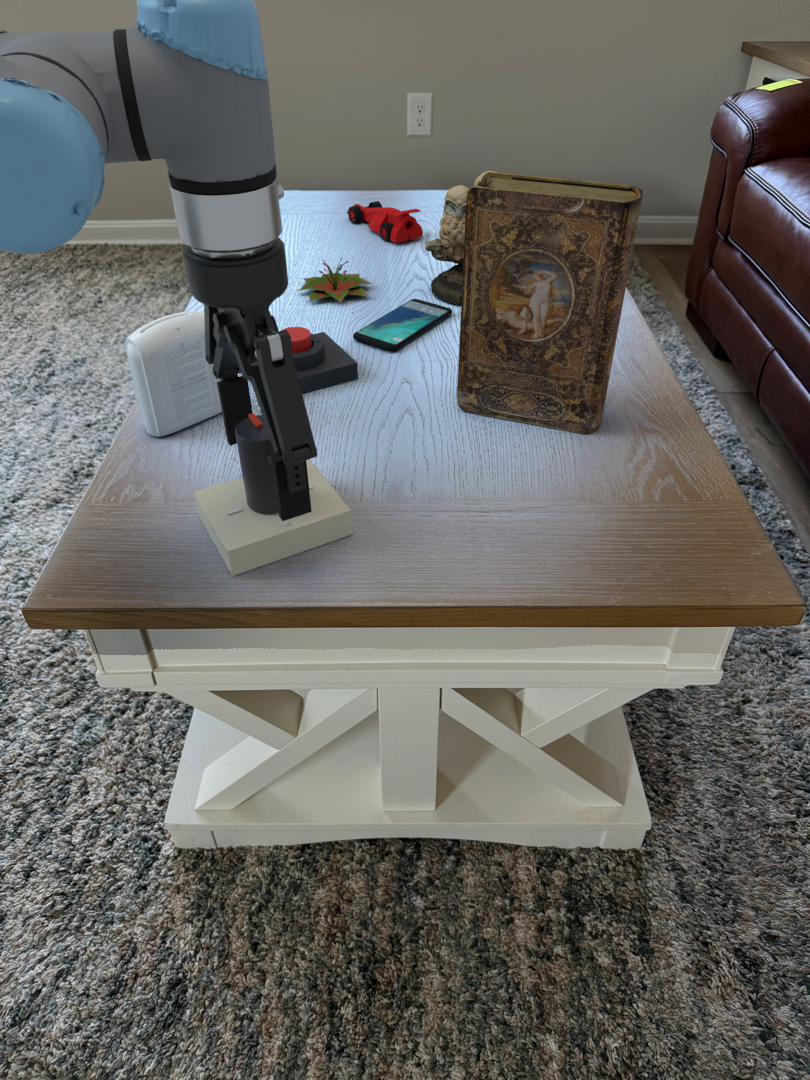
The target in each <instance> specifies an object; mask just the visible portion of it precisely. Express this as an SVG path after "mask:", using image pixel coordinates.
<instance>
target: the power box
mask: <svg viewBox="0 0 810 1080" xmlns="http://www.w3.org/2000/svg"><path fill="white" fill-rule="evenodd" d="M311 342H312V347H311V348H310V349H309V350H307V351H303V352H299V353H293V358H294V364H295V368H296V372H297V376H298V379H299V383H300V387H301V391H302V394H306V393H310V392H313V391H317V390H321V389H324V388H325V389H326V388H328V387H331V386H337V385H339V384H344V383H348V382H351V381H355V380H358V379H359V368H358V366H359V365H358V361H356V360H355V359H354V358H353V357H352V356H351V355H350V354H349V353H347V352H346V350H344V348H342V347H341V346H340V345H339V344H338V343H337V342H336V341H335V340H334V339H332V338H331V336H329V335H328V334H327V333H326V332H325V331H321V332H317V333H312V332H311ZM250 365H252V366H254V365H258V363H254V364H250Z"/></svg>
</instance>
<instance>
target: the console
mask: <svg viewBox="0 0 810 1080" xmlns="http://www.w3.org/2000/svg"><path fill="white" fill-rule="evenodd" d="M306 463H307V472H308V482H309V491H310V501H311V511H312V512H310V513H306V514H303V515H300V516H297V517H294V518H291V519H288V520H285V521H282V520H281V518H280V517H279V513H275V514H260V513H257V512H255V511H253V510H251V509H250V508H249V506H248V504H247V499H246V493H245V487H244V481H243V476H241V477H238V478H234V479H231V480H228V481H227V480H226V481H224V482H222V483H218V484H215V485H211V486H208V487H204V488H201V489H198V490H195V491H193V493H192V494H193V499H194V502H195V506H196V511H197V516H198V518H199V520H200V521H201V523H202V525H203V527H204V529H205V530H206V532H207V534H208V536H209V537H210V539H211V540H212V542H213V544H214V546H215V548H216V549H217V551H218V553H219V555H220V556H221V558H222V560H223V562H224V563H225V566H226V568H227V570H228V571H229V572H230V574H231V576H232V577H234V576H235V577H236V576H237V575H240V574H244V573H246V572H249V571H253V570H255V569H258V568H261V567H263V566H267V565H269V564H272V563H274V562H277V561H280V560H284V559H286V558H289V557H292V556H295V555H298V554H301V553H304V552H307V551H309V550H312V549H315V548H318V547H320V546H323V545H327V544H329V543H332V542H335V541H338V540H341V539H344V538H346V537H349V536H352V535H353V519H352V509H351V508H350V507H349V505H348V504H347V503H346V501H344V500H343V498H342V497H341V496H340V494H339V493H338V492H337V490H335V488H334V487H333V486H332V485H331V484H330V483H329V481H328V480H327V479H326V477H325V476H324V475H323V474H322V472H321V471H320V470H319V469H318V467H317V466H316V465H315V464H314V462H313V461H312V460H311V459H308V460H306Z"/></svg>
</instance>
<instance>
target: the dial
mask: <svg viewBox="0 0 810 1080" xmlns="http://www.w3.org/2000/svg"><path fill="white" fill-rule="evenodd" d="M248 416H249V418H246V419H244V420H242V421H241V422H240V423H238V425H237V426H236V428H235V434H236V440H237V444H236V446H237V451H238V455H239V456H238V458H239V463H240V464H239V465H240V469H241V475H242V477H243V481H244V487H245V493H246V499H247V504H248V506H249V508H250V509H251V510H253V511H255V512H257V513H260V514H275V513H279V511H278V504H277V497H276V490H275V483H274V475H273V468H272V464H270V463H269V461H268V459H267V457H269V456H270V455H271V454H270V453H274V452H275V451H274V448H273V445H272V442H271V440H270V437H269V434H268V431H267V428H266V425H265V422H264V419H263V416H262V414H258V415H256V413H255V412H253V413H252V414H248Z"/></svg>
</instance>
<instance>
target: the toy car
mask: <svg viewBox="0 0 810 1080" xmlns="http://www.w3.org/2000/svg"><path fill="white" fill-rule="evenodd" d="M413 213H421V209H419V208H412V209H405V210H400V209H398V208H395V207H392V206H391V207H388V206H384V207H383V205H382V203H381V202H380V201H379V200H376V201H371V202H369V204H368V205H367V206H364V205H361V204H359V203H355V204H353V205H352V206H349V207H348V210H347V211H346V214H347V216H348V219H349V221H350V223H352V224H356V223H357V224H358V223H361V222H362V221H363V220H364V221H365V222H367V223H368V229H370V230H371V231H373V232H374V233H377V234H378V235H380V238H381V240H383V241H384V242H387V241H391V242H393V243H395V244H399V243H403V242H407V241H409V240H415V239H419V238H423V237H424V236H423V234H424V233H423V227H422V226H421V225H420V223H419V222H418V221H417V219H416V217H414V216H412V215H411V214H413Z"/></svg>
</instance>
